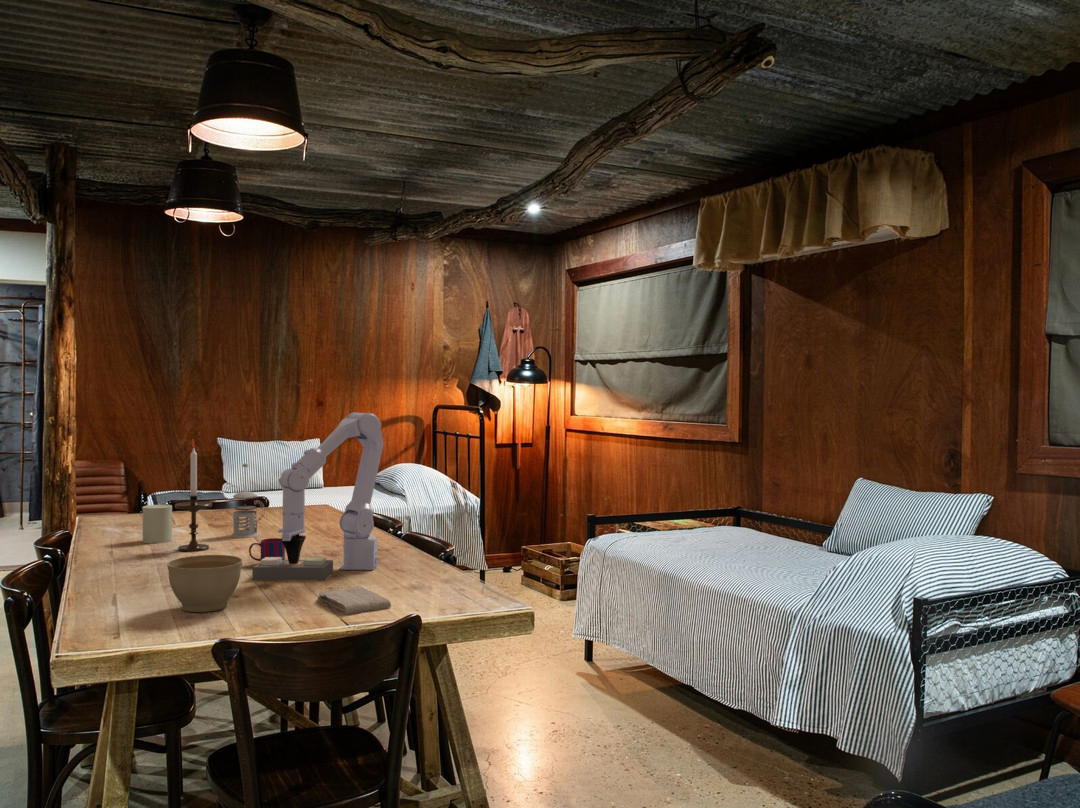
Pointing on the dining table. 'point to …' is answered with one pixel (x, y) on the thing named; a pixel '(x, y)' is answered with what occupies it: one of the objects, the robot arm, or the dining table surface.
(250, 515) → the french press
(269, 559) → the cream key
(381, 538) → the dining table surface
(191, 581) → the planter bowl
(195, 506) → the candlestick
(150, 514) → the can
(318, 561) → the sage key
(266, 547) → the mug
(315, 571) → the key panel
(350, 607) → the washcloth
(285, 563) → the terracotta key
